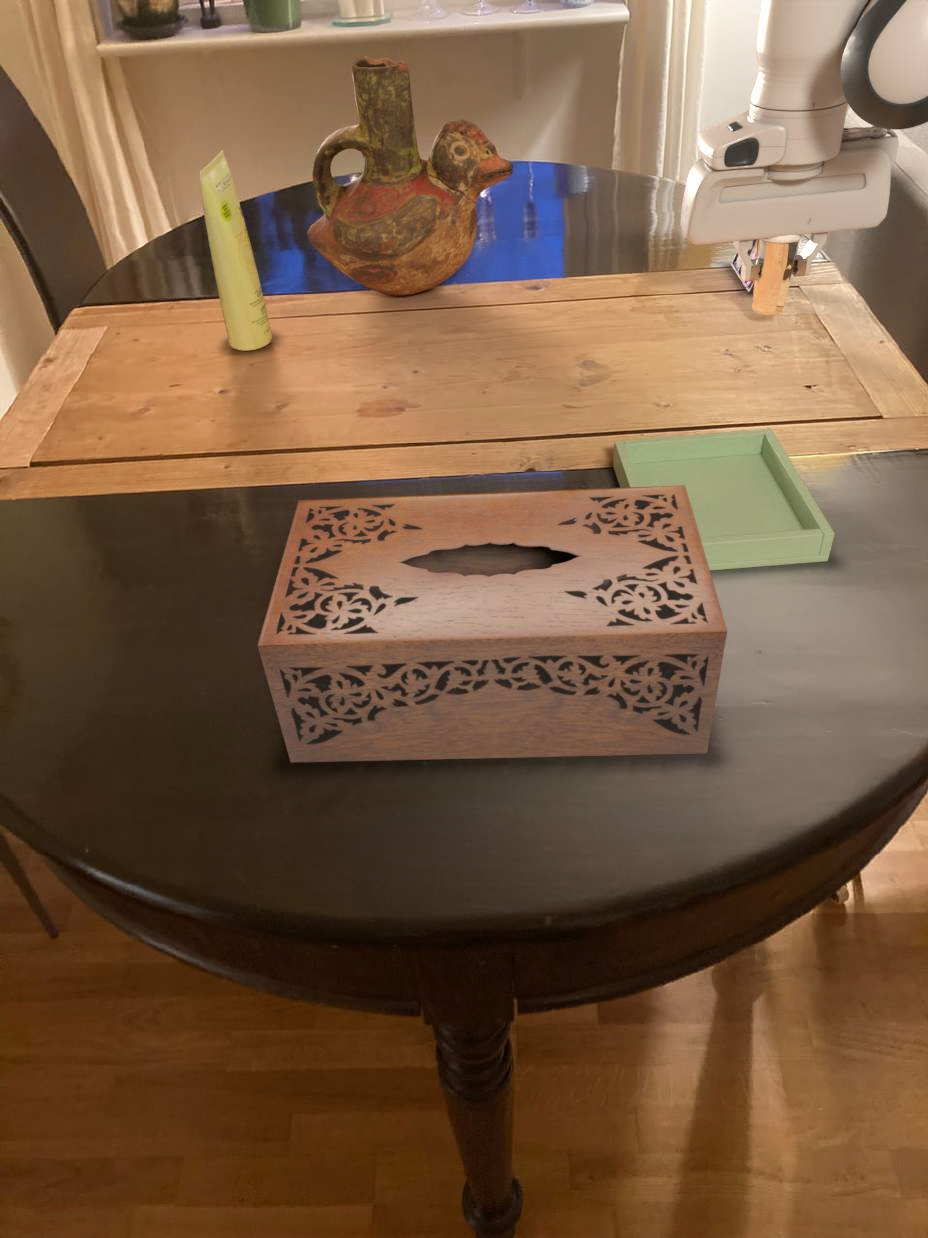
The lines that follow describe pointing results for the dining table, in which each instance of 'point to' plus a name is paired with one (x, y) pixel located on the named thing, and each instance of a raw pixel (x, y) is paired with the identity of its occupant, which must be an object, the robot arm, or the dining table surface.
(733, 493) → the tray
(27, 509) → the dining table surface
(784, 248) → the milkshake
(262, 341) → the tube
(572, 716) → the tissue box cover
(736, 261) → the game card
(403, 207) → the ceramic vessel
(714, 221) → the robot arm
